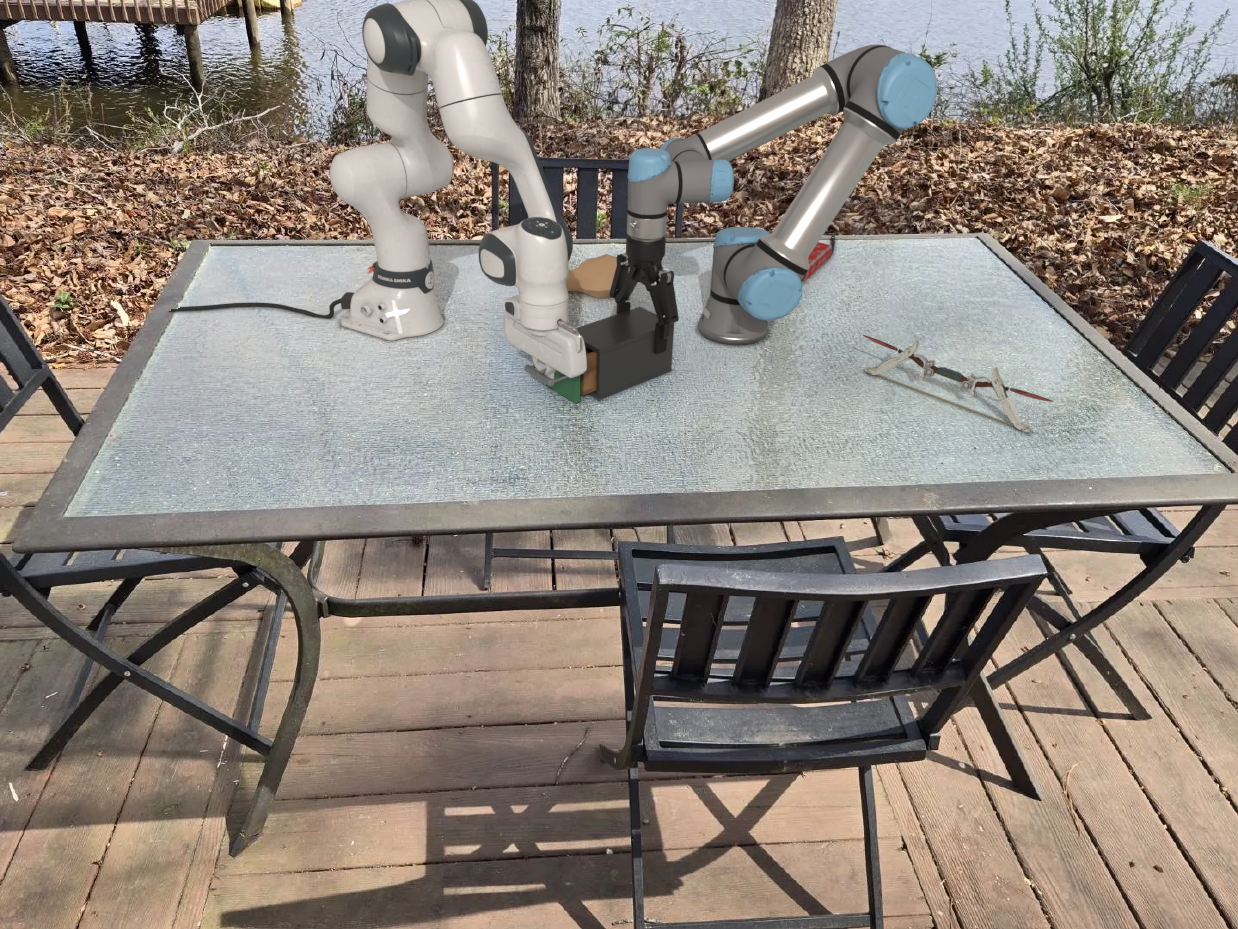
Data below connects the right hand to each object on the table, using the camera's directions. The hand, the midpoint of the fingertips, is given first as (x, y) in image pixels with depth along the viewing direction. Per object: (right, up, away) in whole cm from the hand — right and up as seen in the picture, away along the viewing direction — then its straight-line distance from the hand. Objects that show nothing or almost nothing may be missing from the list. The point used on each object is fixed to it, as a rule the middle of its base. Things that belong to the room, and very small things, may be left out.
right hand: (641, 342), depth 178 cm
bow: (+59, -12, -5) cm, 61 cm away
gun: (+37, +26, +50) cm, 67 cm away
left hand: (-18, -9, -13) cm, 24 cm away
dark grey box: (-4, -7, 0) cm, 8 cm away
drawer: (-11, -9, -6) cm, 15 cm away
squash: (-12, +17, +35) cm, 41 cm away
